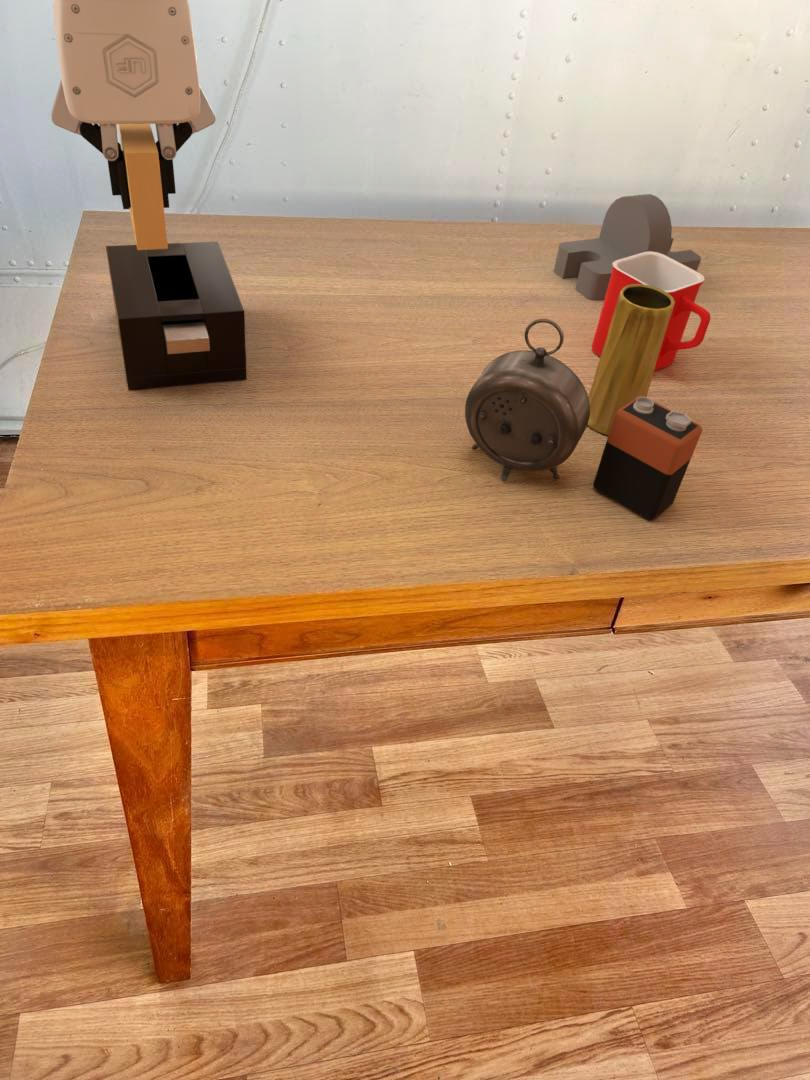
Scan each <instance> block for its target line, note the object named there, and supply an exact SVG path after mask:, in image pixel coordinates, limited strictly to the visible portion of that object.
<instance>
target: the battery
mask: <svg viewBox="0 0 810 1080" xmlns="http://www.w3.org/2000/svg"><path fill="white" fill-rule="evenodd" d="M702 432H703V427H702V425H700V424H699V423H696V422H695V421H692V418H690V417H689V416H688V414H687V413H686V412H681V411H677V410H671V409H669V408H667V407H666V406H663V405H662V404H659V403H658V402H655V401H654V400H653V399H651V398H649V397H643V396H638V397H636V398H635V399H633V400H632V401H630V402H629V403H627V404H626V405H624V406H623V407H621V408H620V409H619V410H617V411H616V413H615V416H614V419H613V422H612V426H611V429H610V432H609V435H607V440H606V441H605V445H604V447H603V451H602V453H601V458H600V461H599V465H598V467H597V470H596V473H595V477H594V480H593V484H592V486H593V489H594V490H596V491H598V492H599V493H601V494H602V495H604V496H606V497H607V498H610V499H611V500H613V501H614V502H616V503H617V504H620V505H621V506H623V507H625V508H627V509H628V510H629V511H632V512H634V513H635V514H637V515H639V516H641V517H642V518H644V519H645V520H647V521H654V520H655V519H656V518H658V517H659V516H660V515H661V514H662V513H663V512H664V511H666V510H667V509H668V508H669V507H670V506H671V505H672V504H674V502H675V499H676V498H677V495H678V492H679V490H680V487H681V485H682V482H683V481H684V480H683V479H684V476H685V474H686V472H687V470H688V467H689V464H690V462H691V460H692V457H693V454H694V452H695V450H696V447H697V445H698V443H699V440H700V438H701V435H702Z"/></svg>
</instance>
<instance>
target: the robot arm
mask: <svg viewBox="0 0 810 1080" xmlns="http://www.w3.org/2000/svg"><path fill="white" fill-rule="evenodd" d="M52 6H53V7H52V8H53V22H54V28H55V29H54V32H55V38H56V47H57V48H56V49H57V56H58V64H59V72H60V78H61V79H60V82H59V85H58V88H57V92H56V94H55V99H54V102H53V105H52V109H51V121H52V123H53V124H54V125H55V126H56V127H59V128H62V129H63V130H66V131H68V132H70V133H73V134H77V135H79V136H81V137H82V138H83V139H84V140H86V141H87V142H88V143H89V144H90V145H92V146H93V147H94V148H95V149H96V150H97V151H99V152H100V153H101V154H102V155H103V157H104V159H106V161H107V167H108V173H109V181H110V188H111V195H112V196H120V198H121V204H122V209H123V210H129V209H130V208H129V207H131V203H130V195H129V187H128V179H127V171H126V164H125V158H124V154H123V151H122V148H121V142H118V129H117V127H118V126H117V125H118V124H150V125H151V124H152V125H155V131H156V137H157V141H155V143H156V146H157V150H158V155H159V165H160V175H161V185H162V195H163V205H164V209H169V208H170V200H169V199H170V198H169V195H175V194H177V193H176V180H175V169H174V159H175V158H176V156H177V153H178V151H179V150H180V149H181V148H182V147H183V146H184V144H186V142H187V141H188V140H189V139H190V138H191V137H192V135H194V134H195V133H199V132H201V131H203V130H204V129H206V128H209V127H210V126H212V125H213V124H215V122H216V115H215V113H214V111H213V109H212V107H211V106H210V103H209V101H208V99H207V97H206V94H205V93H204V91H203V89H202V88H201V85H200V78H199V77H200V76H199V66H198V59H197V48H196V40H195V34H194V33H195V32H194V27H193V20H192V19H193V18H192V12H191V6H190V2H189V0H52Z"/></svg>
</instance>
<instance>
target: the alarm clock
mask: <svg viewBox="0 0 810 1080" xmlns="http://www.w3.org/2000/svg"><path fill="white" fill-rule="evenodd" d="M540 323H541V324H543V323H545V324H549V325H551V326H553V327H554V328H555V329H556V331H557V332H558V334H559V342H558V345H557V346H556V347H555V348H554V349H553V350H550V351H547V349H546V348H545V347H541V346H539V347H537V348H535V347H533V346H532V344H531V342H530V339H529V332H530V330H531V328H533V327H534V326H535V325H537V324H540ZM564 338H565V337H564V332H563V330H562V328H561V326H560V325H559V324H558V323H556V322H555V321H554V320H552V319H548V318H538V319H535V320H532V321H531V322H530V323H529V324H528V325H527V326H526V327H525V331H524V340H525V343H526V346H527V347H528V348H529V349H521V350H520V349H519V350H513V351H509V352H505V353H503V354H501V355H499V356H496V357H495V358H494V359H493V360H491V361H490V362H489V363H488V364H487V365H486V367H485V368H484V369H483V371H482V372H481V374H480V376H478V379H477V380H476V381H475V382H474V384H473V385H472V387H471V388H470V390H469V392H468V394H467V397H466V399H465V406H464V416H465V424H466V426H467V429H468V433H469V435H470V436H471V438H472V439H473V441H474V443H473V444H472V445H471V449H472V450H473V451H477V450H478V449H480V451H481V452H483V454H484V455H486V456H487V457H488V458H490V459H491V460H492V461H494V462H495V463H497V464H499V465H500V466H503V468H502V471H501V475H500V480H501V482H503V483H507V481H508V480H509V477H510V474H511V471H517V472H522V473H523V472H524V473H540V472H546V471H549V472H551V474H552V479H553V480H555V481H558V480H559V479H560V477H561V476H560V474H559V473H558V469H557V468H558V466H560V465H562V464H563V463H564V462H566V461H567V460H568V459H569V458H570V457H571V455H572V454H573V453H574V451H575V450H576V448H577V446H578V444H579V441H580V440H581V438H582V436H583V435H584V433H585V431H586V429H587V426H588V425H587V424H588V421H589V416H590V404H589V398H588V396H589V394H588V393H587V390H586V388H585V386H584V384H583V382H582V381H581V379H580V378H579V376H578V375H577V374H576V372H574V371H573V370H572V369H571V368H570V367H569V366H568V365H567V364H565V362H562V361H561V360H559V359H558V358H556V357H554V356H552V355H553V354H555V353H556V352H558V351H559V350H560V349H561V348H562V345H563V343H564Z"/></svg>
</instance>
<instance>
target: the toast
mask: <svg viewBox="0 0 810 1080" xmlns="http://www.w3.org/2000/svg"><path fill="white" fill-rule="evenodd" d="M117 125H118V131H119V138H120V139H119V140H120V144H121V149H122V151H123V154H124V158H125V164H126V171H127V179H128V187H129V195H130V203H131V207H129V208H130V209H128V210H129V216H130V221H131V225H132V231H133V235H134V241H135V245H137V250H153V249H168V245H167V244H168V238H167V237H168V235H167V225H166V216H165V208H164V205H163V195H162V185H161V175H160V165H159V155H158V150H157V146H156V140H155V136H154V133H153V129H152V127H151V124H117Z"/></svg>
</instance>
